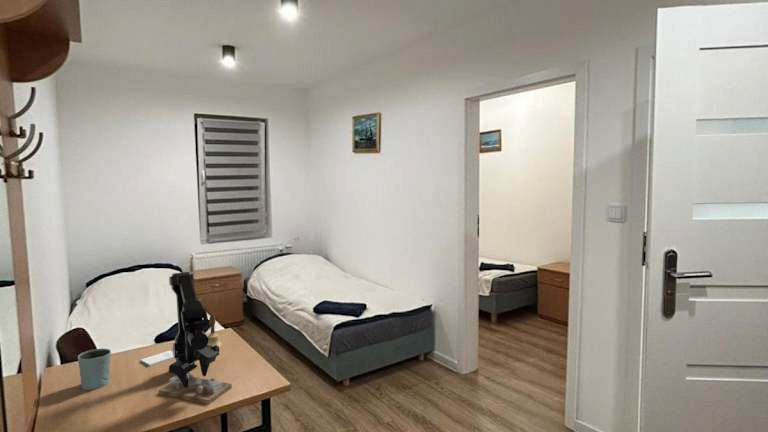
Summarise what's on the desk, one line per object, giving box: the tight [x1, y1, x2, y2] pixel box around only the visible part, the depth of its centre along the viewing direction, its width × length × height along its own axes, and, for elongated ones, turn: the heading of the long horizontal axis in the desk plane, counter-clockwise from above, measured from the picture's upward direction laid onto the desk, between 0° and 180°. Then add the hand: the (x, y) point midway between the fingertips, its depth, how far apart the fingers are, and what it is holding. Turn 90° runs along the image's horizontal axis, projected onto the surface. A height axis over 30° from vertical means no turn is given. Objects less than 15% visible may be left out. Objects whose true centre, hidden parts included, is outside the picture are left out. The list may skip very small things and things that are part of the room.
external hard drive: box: [139, 350, 175, 368], centre depth 179 cm, size 2×8×12 cm
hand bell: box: [207, 312, 223, 349], centre depth 192 cm, size 8×8×16 cm
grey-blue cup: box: [77, 348, 112, 391], centre depth 156 cm, size 10×10×12 cm
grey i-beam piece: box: [169, 374, 223, 394], centre depth 152 cm, size 20×4×2 cm, turn 72°
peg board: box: [158, 372, 233, 405], centre depth 152 cm, size 22×12×4 cm, turn 72°
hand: (195, 381), depth 152 cm, fingers open, 9 cm apart
